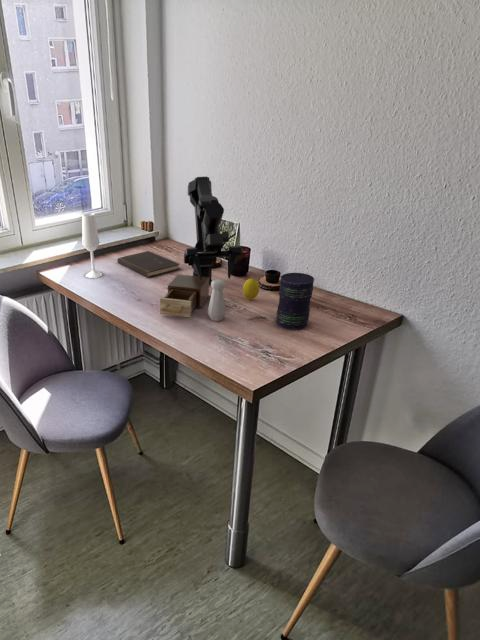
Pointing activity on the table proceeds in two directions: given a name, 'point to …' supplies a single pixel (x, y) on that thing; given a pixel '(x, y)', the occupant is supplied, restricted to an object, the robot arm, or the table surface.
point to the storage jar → (294, 301)
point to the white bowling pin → (217, 301)
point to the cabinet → (192, 286)
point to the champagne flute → (90, 239)
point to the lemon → (251, 288)
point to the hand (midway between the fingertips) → (215, 278)
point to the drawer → (178, 302)
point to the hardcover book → (148, 263)
